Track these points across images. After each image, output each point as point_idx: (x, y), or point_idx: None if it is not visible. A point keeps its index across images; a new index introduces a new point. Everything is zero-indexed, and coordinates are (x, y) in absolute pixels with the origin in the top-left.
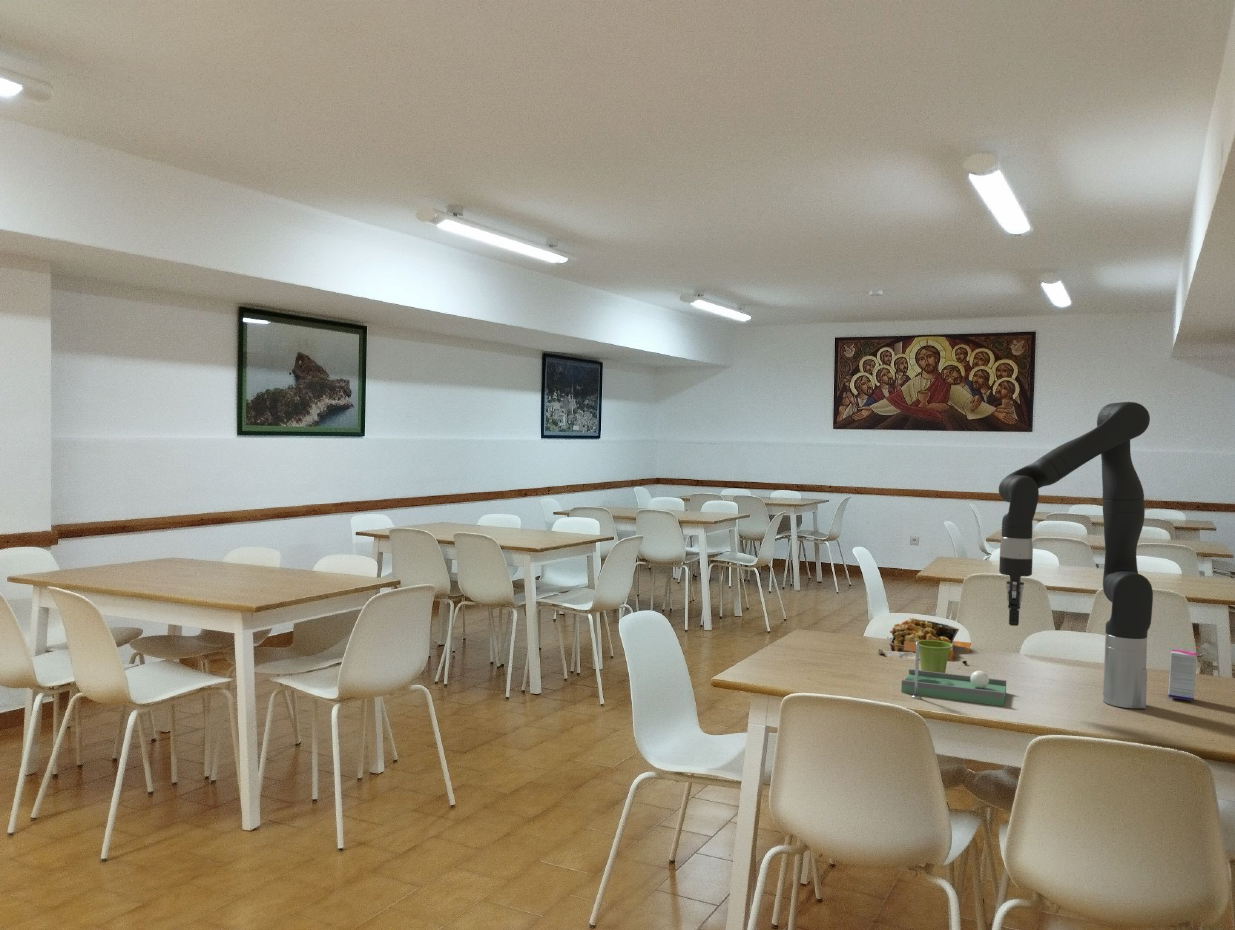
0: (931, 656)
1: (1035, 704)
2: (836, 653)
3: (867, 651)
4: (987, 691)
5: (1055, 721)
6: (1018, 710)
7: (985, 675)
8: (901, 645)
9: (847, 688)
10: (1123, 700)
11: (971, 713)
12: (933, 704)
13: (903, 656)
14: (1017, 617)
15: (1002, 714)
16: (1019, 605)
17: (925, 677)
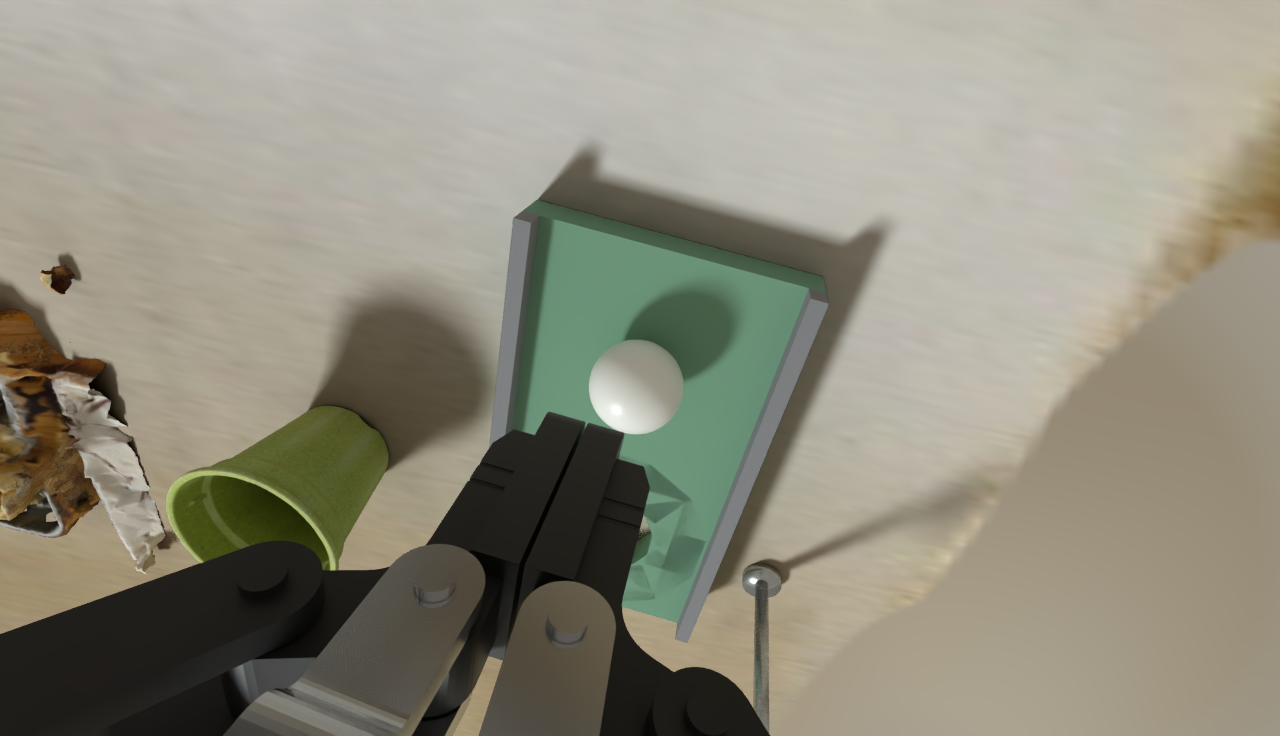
0: (349, 525)
1: (747, 84)
2: None
3: (124, 569)
4: (797, 374)
5: (1146, 47)
6: (899, 217)
7: (657, 382)
8: (55, 509)
9: None
10: None
11: (977, 445)
12: (841, 543)
13: (125, 487)
14: (597, 512)
15: (988, 318)
16: (600, 705)
17: None
